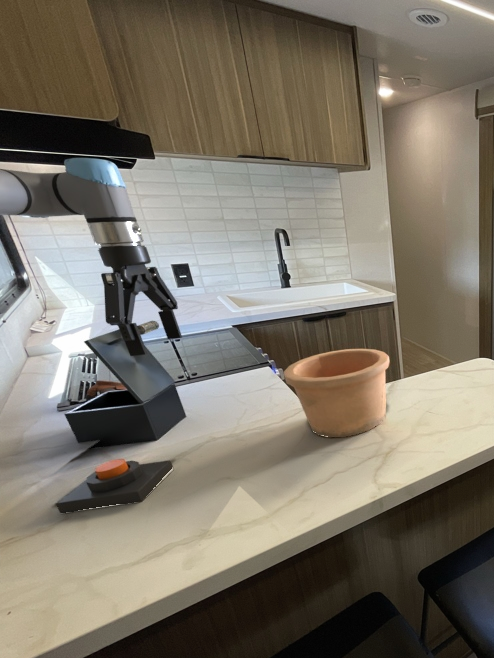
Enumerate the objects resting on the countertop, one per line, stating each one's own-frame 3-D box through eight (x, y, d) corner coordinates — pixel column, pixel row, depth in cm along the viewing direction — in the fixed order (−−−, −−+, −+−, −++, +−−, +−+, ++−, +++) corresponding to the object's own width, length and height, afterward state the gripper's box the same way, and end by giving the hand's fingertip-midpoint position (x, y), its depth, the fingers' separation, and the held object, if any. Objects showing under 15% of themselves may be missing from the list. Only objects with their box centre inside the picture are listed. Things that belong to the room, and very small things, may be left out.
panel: (60, 514, 66) (49, 494, 65) (103, 479, 76) (94, 461, 74) (142, 502, 68) (133, 482, 67) (174, 469, 78) (167, 451, 76)
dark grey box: (81, 450, 87) (63, 414, 84) (120, 424, 99) (106, 391, 95) (157, 440, 89) (142, 405, 86) (186, 416, 101) (174, 384, 98)
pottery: (363, 394, 108) (354, 343, 103) (416, 415, 95) (408, 357, 90) (282, 426, 93) (266, 368, 88) (330, 455, 80) (315, 389, 74)
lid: (83, 341, 80) (124, 322, 80) (125, 327, 92) (160, 311, 92) (140, 403, 86) (178, 386, 86) (172, 383, 98) (206, 367, 98)
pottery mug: (83, 409, 110) (90, 379, 111) (129, 413, 116) (136, 385, 118) (81, 410, 101) (89, 378, 103) (131, 414, 108) (138, 384, 109)
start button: (92, 481, 69) (88, 473, 68) (109, 468, 72) (105, 460, 72) (119, 478, 69) (115, 469, 69) (134, 465, 73) (130, 457, 72)
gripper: (98, 246, 70) (142, 361, 78) (175, 242, 93) (204, 331, 101) (48, 249, 69) (98, 365, 77) (139, 244, 92) (170, 333, 100)
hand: (158, 346), depth 89 cm, fingers open, 13 cm apart
